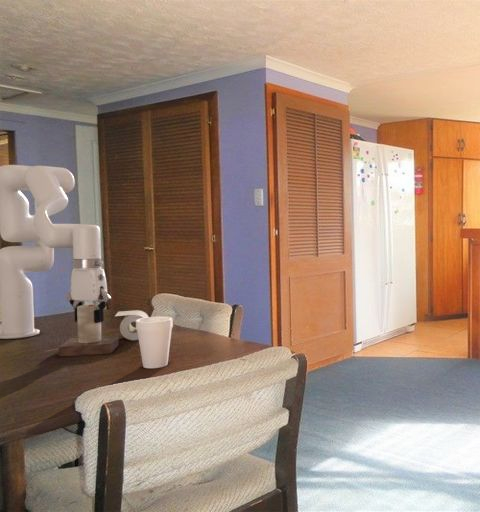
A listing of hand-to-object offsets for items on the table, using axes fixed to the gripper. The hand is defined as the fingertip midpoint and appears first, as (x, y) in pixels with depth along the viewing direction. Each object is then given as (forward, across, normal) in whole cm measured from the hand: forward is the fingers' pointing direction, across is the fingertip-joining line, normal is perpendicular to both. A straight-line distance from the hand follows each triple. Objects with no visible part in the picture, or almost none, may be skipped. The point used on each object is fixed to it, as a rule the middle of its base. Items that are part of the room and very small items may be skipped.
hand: (89, 321), depth 164 cm
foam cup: (+9, -31, +10) cm, 34 cm away
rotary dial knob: (+6, 0, 0) cm, 6 cm away
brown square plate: (+9, 0, 0) cm, 9 cm away
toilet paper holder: (+9, -2, -21) cm, 23 cm away
